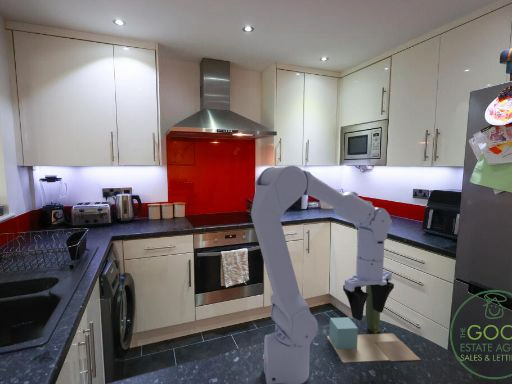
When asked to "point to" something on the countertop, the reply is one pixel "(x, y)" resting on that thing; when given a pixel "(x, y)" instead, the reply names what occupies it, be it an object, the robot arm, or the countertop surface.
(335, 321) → the teal block
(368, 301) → the vegetable
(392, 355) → the maple board
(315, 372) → the countertop surface
